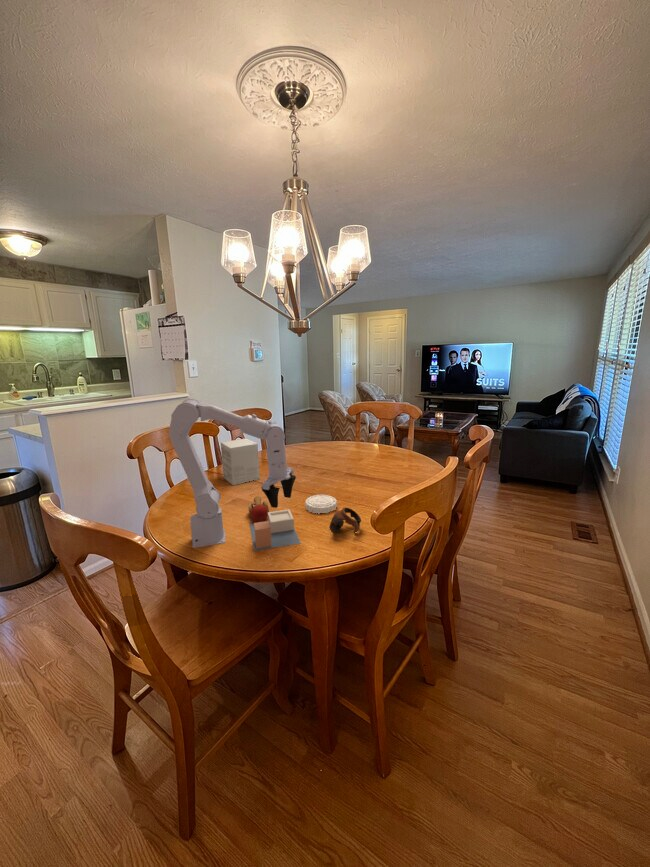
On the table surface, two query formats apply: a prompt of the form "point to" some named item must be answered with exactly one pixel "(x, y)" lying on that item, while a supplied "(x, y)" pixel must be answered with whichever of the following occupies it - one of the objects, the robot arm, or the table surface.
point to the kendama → (258, 510)
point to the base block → (281, 521)
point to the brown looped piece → (341, 515)
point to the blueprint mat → (278, 539)
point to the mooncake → (320, 504)
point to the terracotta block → (262, 534)
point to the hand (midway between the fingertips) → (281, 501)
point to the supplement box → (240, 461)
